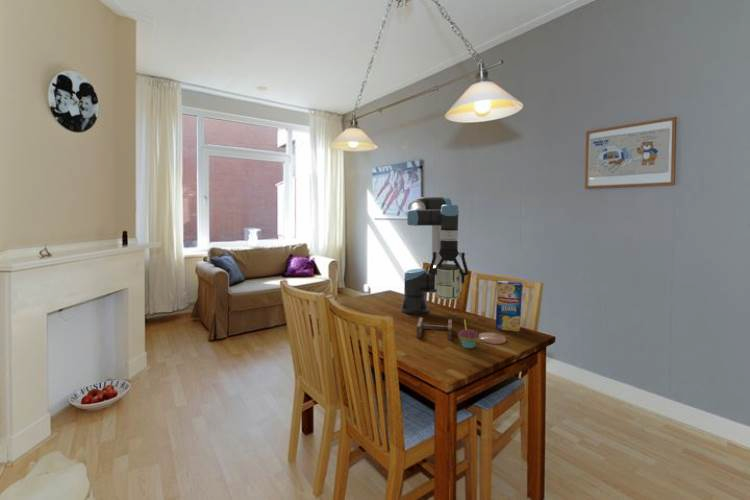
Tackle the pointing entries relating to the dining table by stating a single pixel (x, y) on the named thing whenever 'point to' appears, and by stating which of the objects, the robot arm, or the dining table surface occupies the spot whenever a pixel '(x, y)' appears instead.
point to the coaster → (492, 338)
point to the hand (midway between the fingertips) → (448, 289)
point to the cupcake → (468, 337)
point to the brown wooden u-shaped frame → (434, 327)
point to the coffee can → (448, 281)
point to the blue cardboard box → (508, 305)
